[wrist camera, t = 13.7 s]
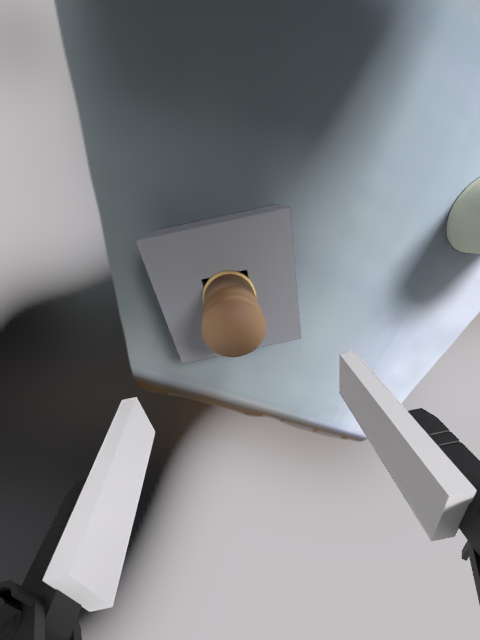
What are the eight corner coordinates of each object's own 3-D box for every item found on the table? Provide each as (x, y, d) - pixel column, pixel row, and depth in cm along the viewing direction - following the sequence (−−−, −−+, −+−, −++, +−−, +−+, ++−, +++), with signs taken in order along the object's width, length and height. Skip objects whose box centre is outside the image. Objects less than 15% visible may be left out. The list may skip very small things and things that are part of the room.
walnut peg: (244, 251, 29) (263, 290, 18) (251, 293, 32) (272, 351, 20) (199, 261, 29) (189, 306, 18) (210, 302, 32) (208, 364, 20)
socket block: (274, 204, 27) (289, 207, 22) (287, 315, 34) (301, 338, 28) (150, 231, 27) (135, 241, 22) (187, 336, 34) (182, 363, 29)
